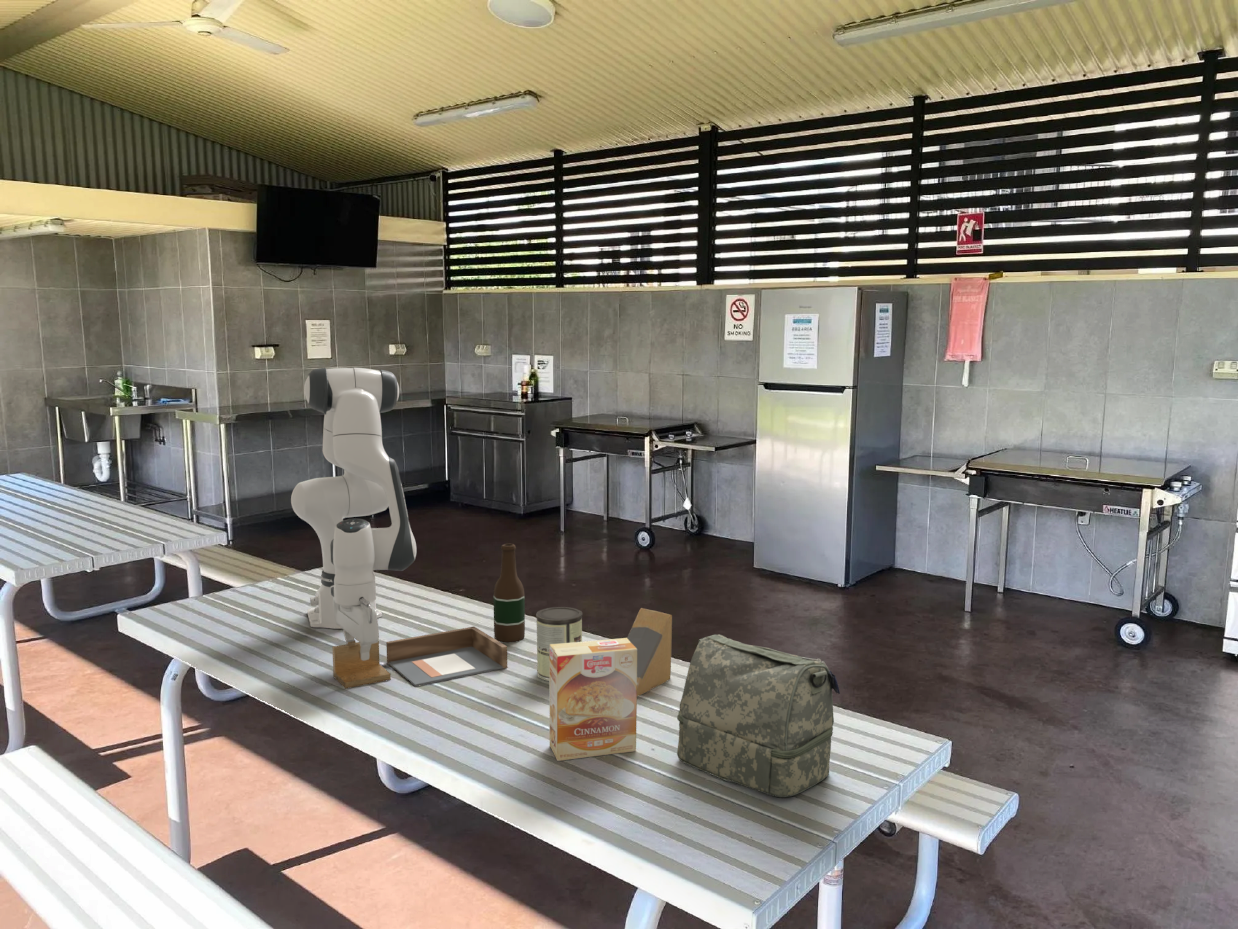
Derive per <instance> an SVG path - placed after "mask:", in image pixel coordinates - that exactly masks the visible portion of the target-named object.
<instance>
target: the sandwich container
mask: <svg viewBox="0 0 1238 929" xmlns="http://www.w3.org/2000/svg"><path fill="white" fill-rule="evenodd" d="M672 626H673V615H672V614H669V613H664V612H662V611H657V610H652V609H647V608H644V607H641V608H640V609H639V611H638V613H637V615H636V617H635V619H634V622H633V624H632V626H631V629H630V631H629V633H628V634H627V637H626V638H627V639H628V640H629V641H630V642H631V643H632V644H633V645H634V646H635V647H636V648H637V697H640V696H641V695H643V694H645V693H647V692H649V691H651V690H653V689H655V688H657V687H658V686H661V685H662V684H664V683H666V682H668V681H669V680H671V671H672V670H671V669H672V668H671V667H672V636H673V635H672V634H673V633H672V632H673V631H672V630H673V627H672Z"/></svg>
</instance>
